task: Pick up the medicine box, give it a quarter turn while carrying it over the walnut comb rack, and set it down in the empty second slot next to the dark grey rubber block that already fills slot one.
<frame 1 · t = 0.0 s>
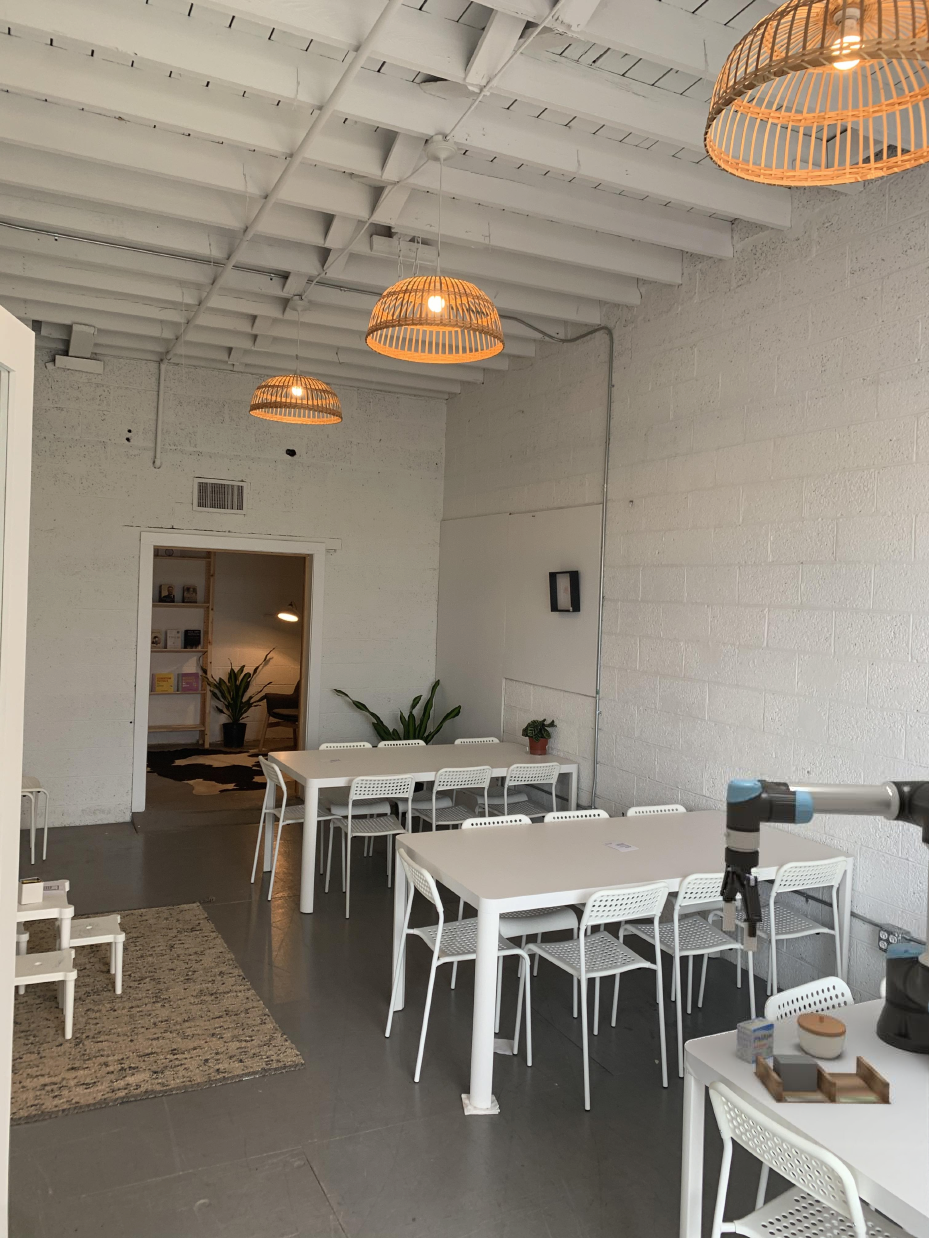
hand: (738, 940, 204), 28 cm above the table, fingers open, 13 cm apart
lidded jar: (820, 1056, 208), on the table
rubber block: (794, 1086, 191), point 1 cm above the table, touching comb rack
medicine box: (754, 1061, 205), on the table
comb rack: (820, 1091, 191), on the table
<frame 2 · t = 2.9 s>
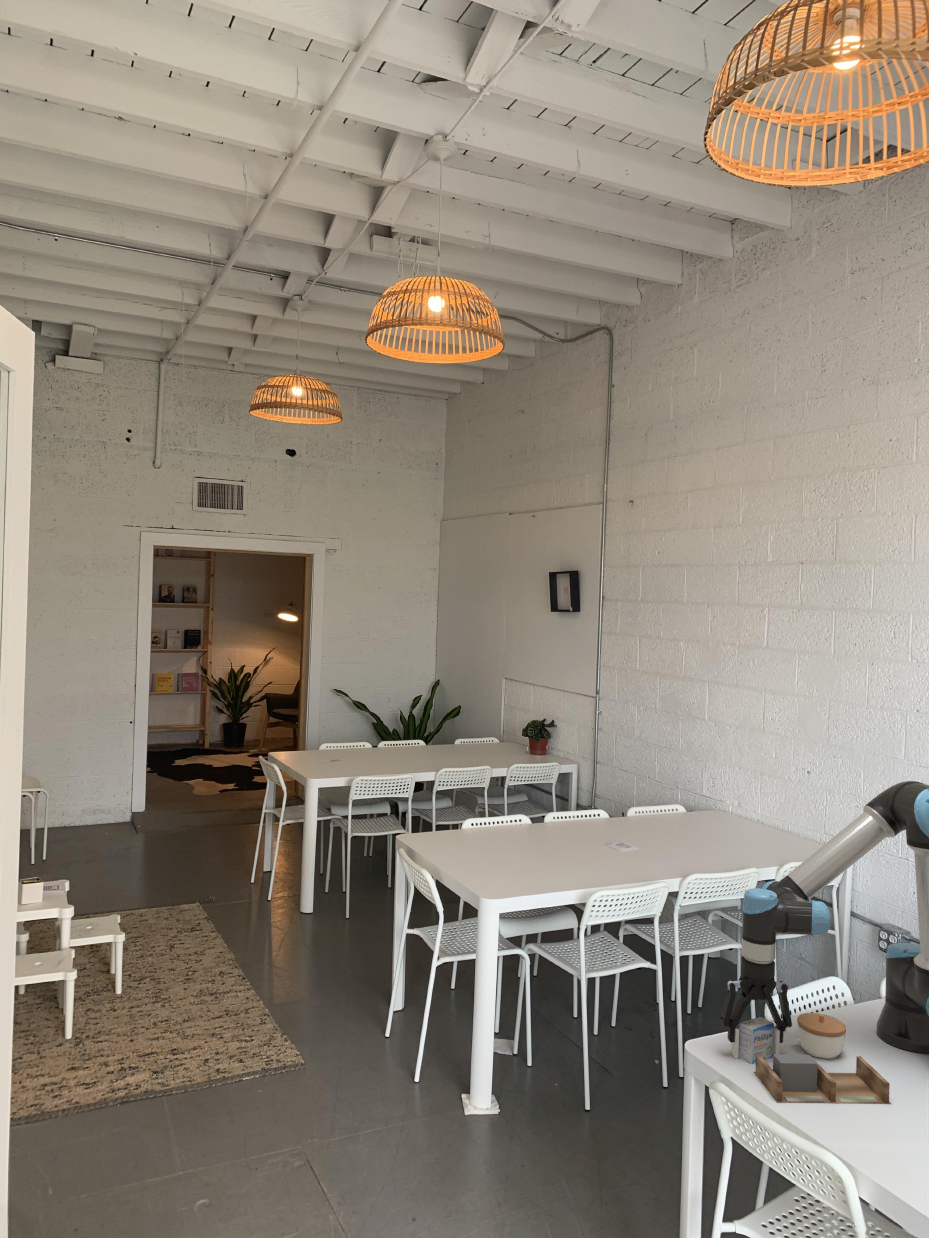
hand: (754, 1055, 205), 1 cm above the table, fingers closed on medicine box, 9 cm apart
medicine box: (754, 1061, 205), on the table, touching gripper
everything else where it was.
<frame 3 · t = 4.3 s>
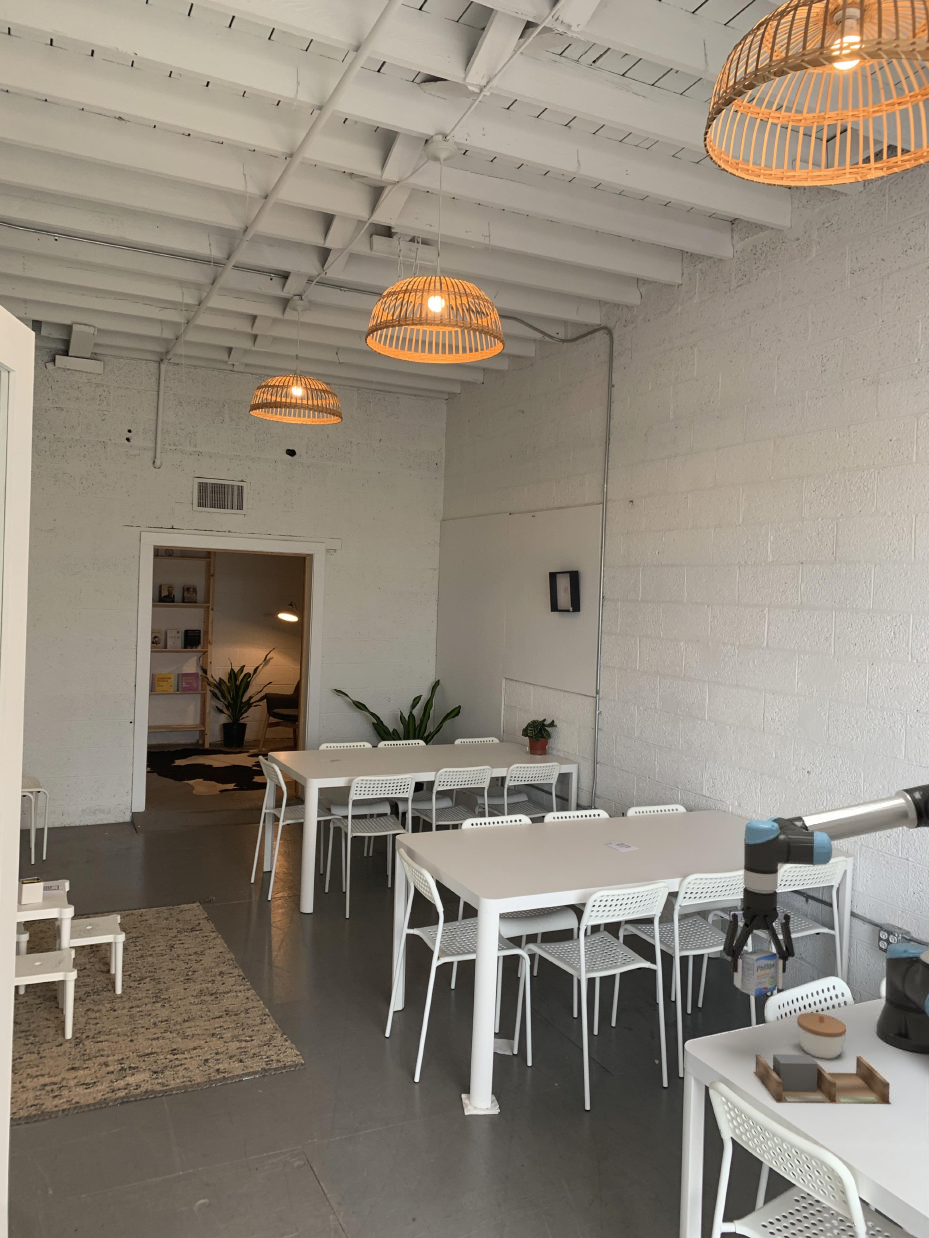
hand: (757, 986, 205), 17 cm above the table, fingers closed on medicine box, 9 cm apart
medicine box: (757, 991, 205), point 16 cm above the table, touching gripper
everything else where it was.
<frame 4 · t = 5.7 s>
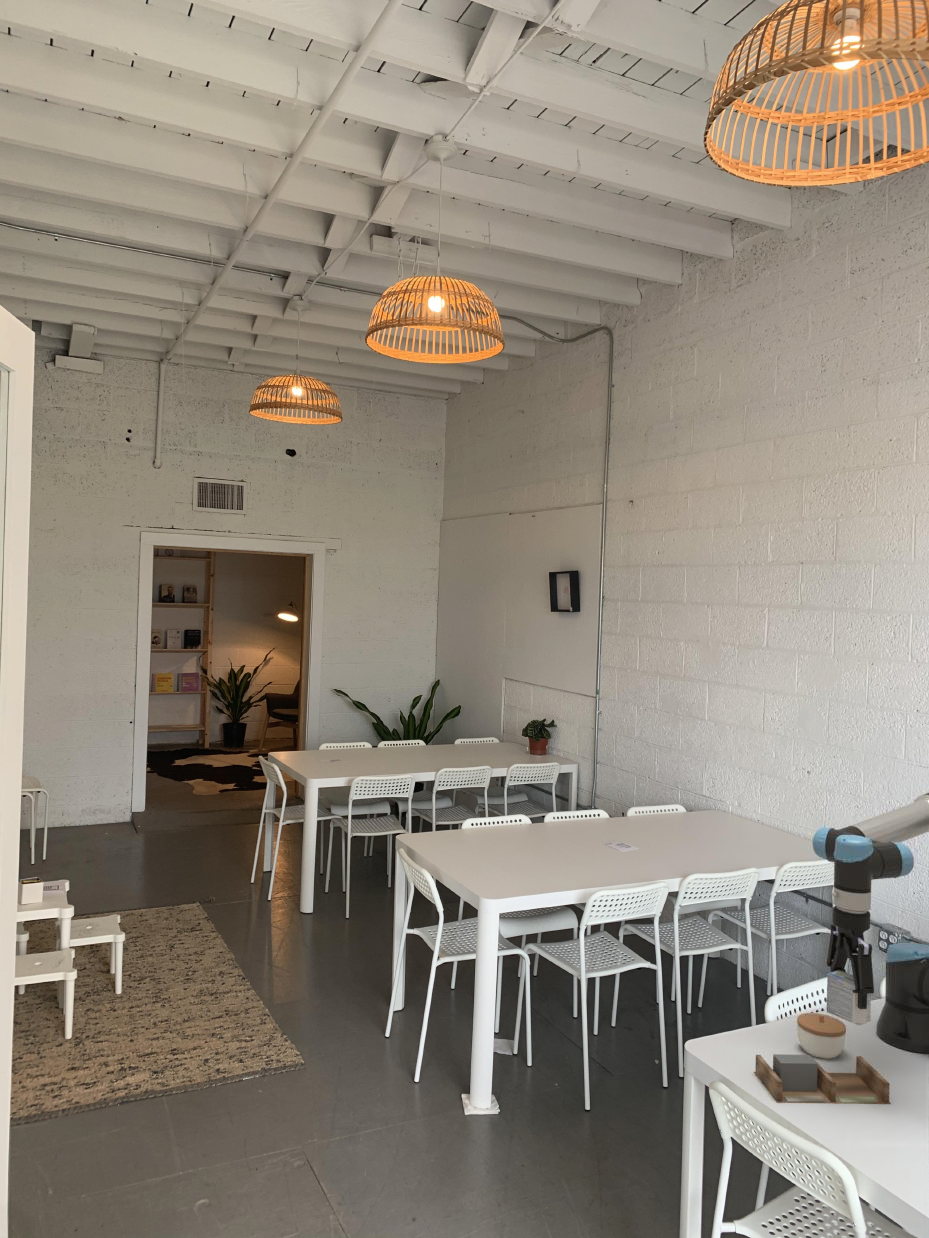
hand: (848, 1012, 192), 17 cm above the table, fingers closed on medicine box, 9 cm apart
medicine box: (848, 1018, 192), point 16 cm above the table, touching gripper
everything else where it was.
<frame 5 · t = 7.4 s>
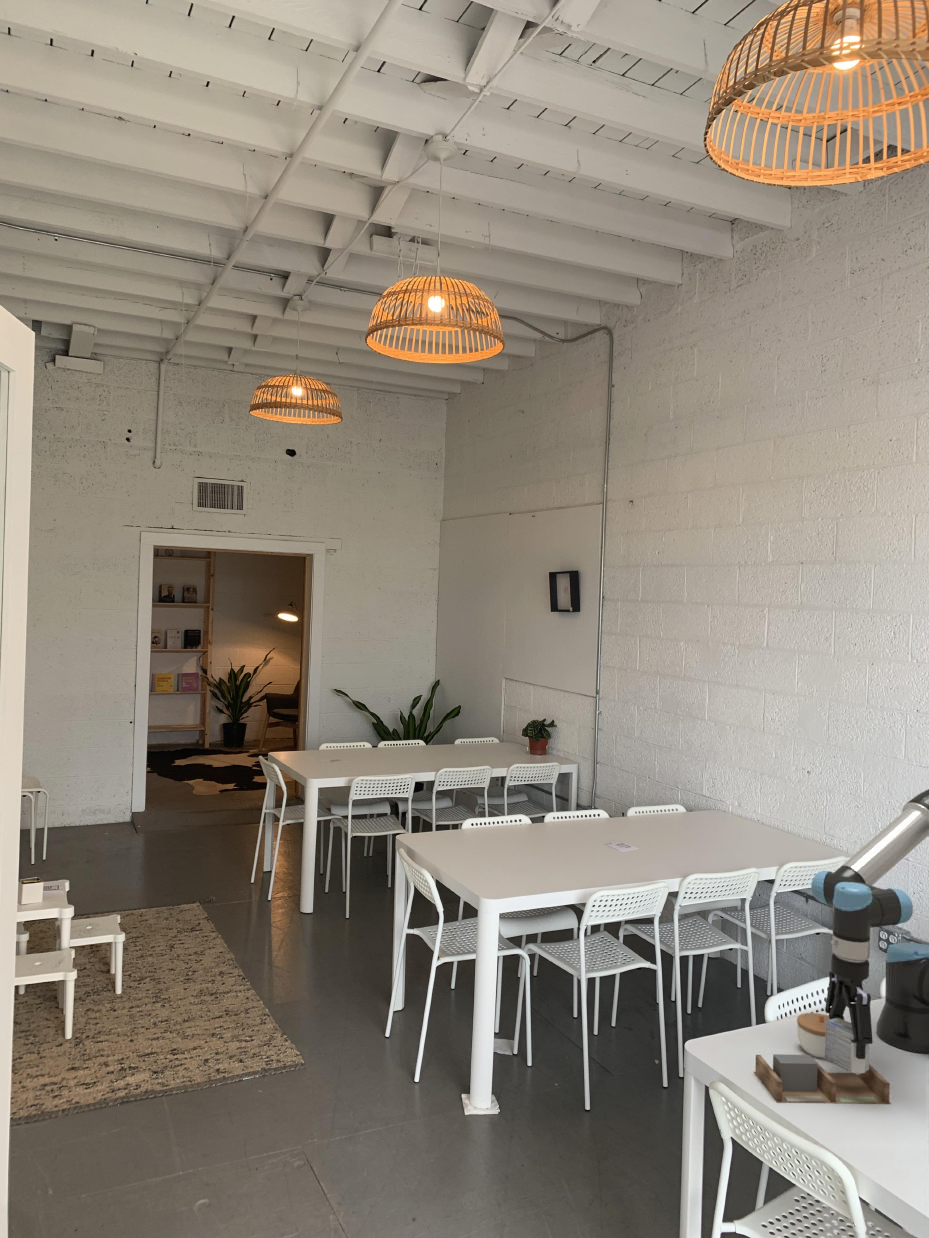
hand: (846, 1061, 191), 7 cm above the table, fingers closed on medicine box, 9 cm apart
medicine box: (846, 1066, 191), point 5 cm above the table, touching gripper
everything else where it was.
when the fingers open (4 cm above the table, at t = 8.5 s): medicine box drops 2 cm, resting on comb rack.
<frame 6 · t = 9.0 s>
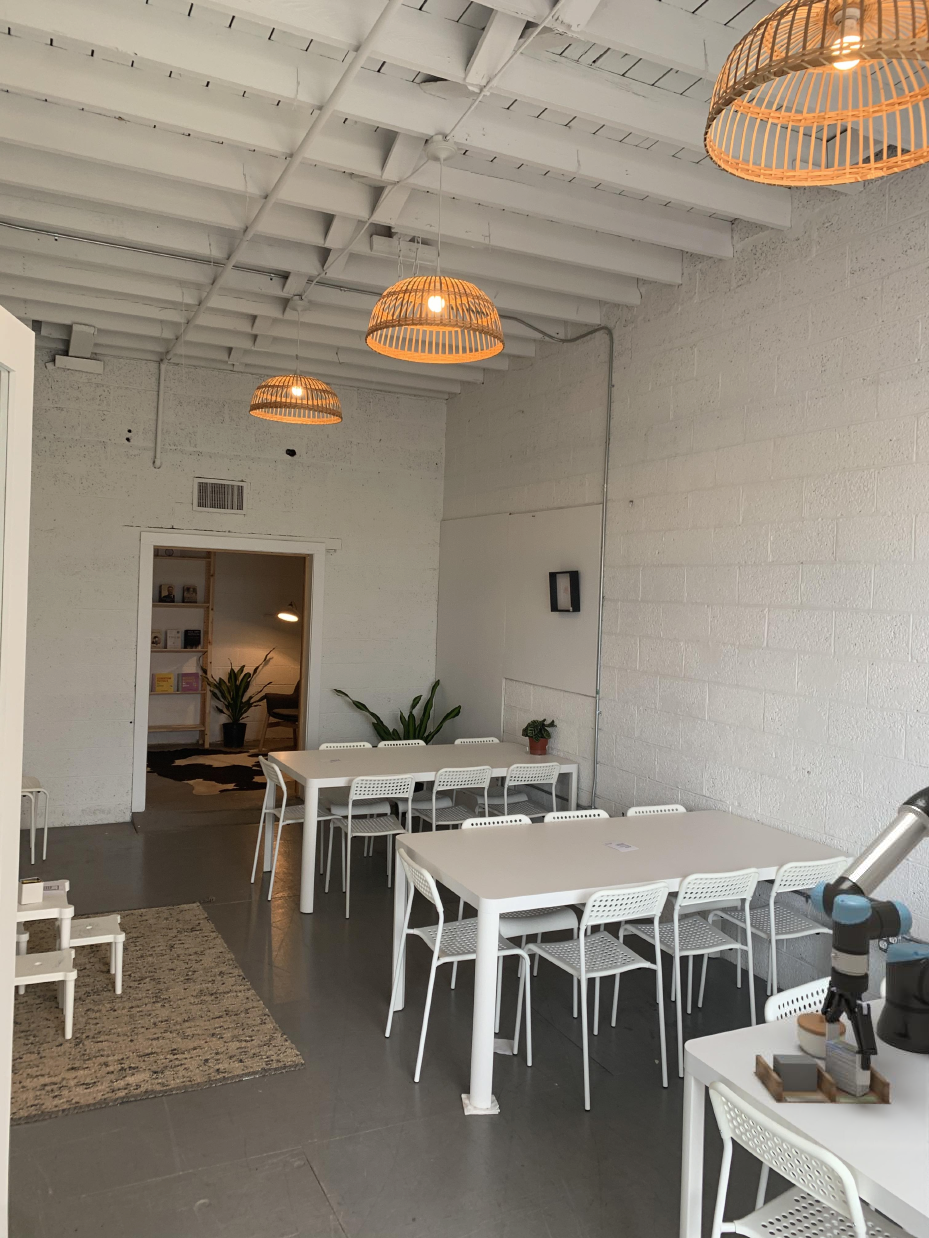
hand: (846, 1067, 191), 5 cm above the table, fingers open, 13 cm apart
medicine box: (846, 1088, 191), point 1 cm above the table, touching comb rack
everything else where it was.
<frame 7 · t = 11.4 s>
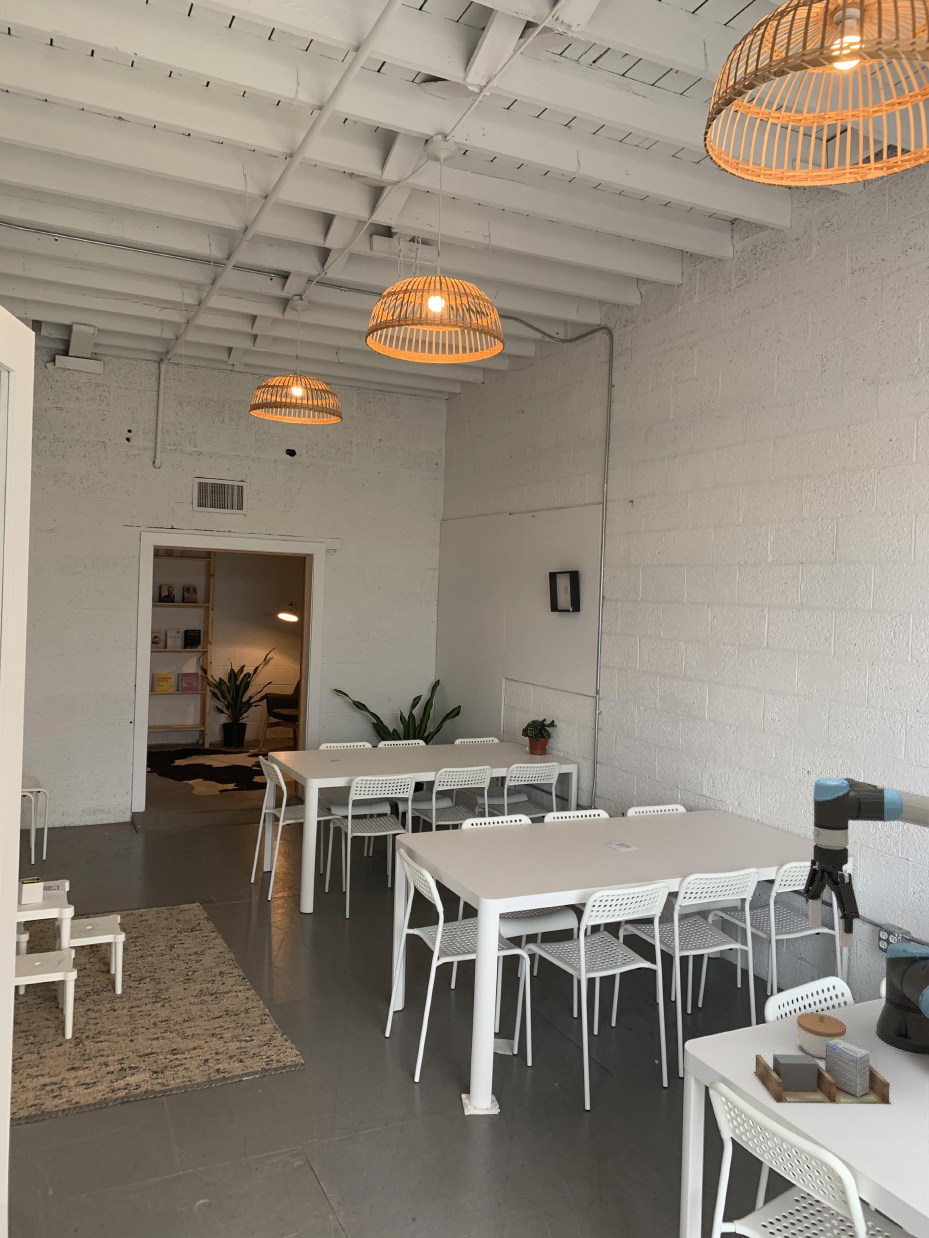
hand: (830, 936, 207), 29 cm above the table, fingers open, 13 cm apart
nothing on the table moved.
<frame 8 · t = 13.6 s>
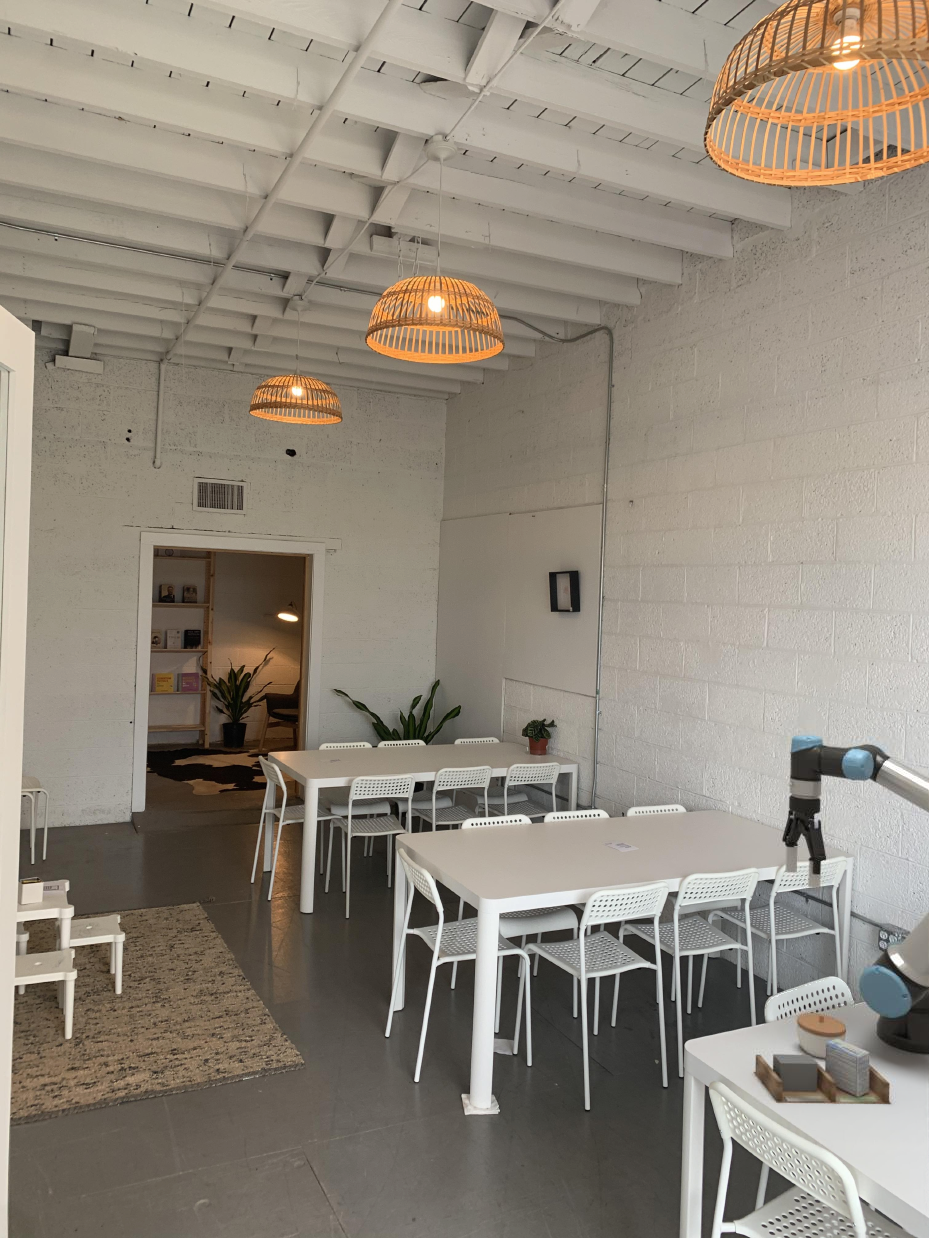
hand: (802, 879, 226), 37 cm above the table, fingers open, 13 cm apart
nothing on the table moved.
at the end: medicine box inside the target area on the comb rack (0.1 cm from its centre), point 0.9 cm above the comb rack's base; medicine box tilted 1°; the gripper is holding nothing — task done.
